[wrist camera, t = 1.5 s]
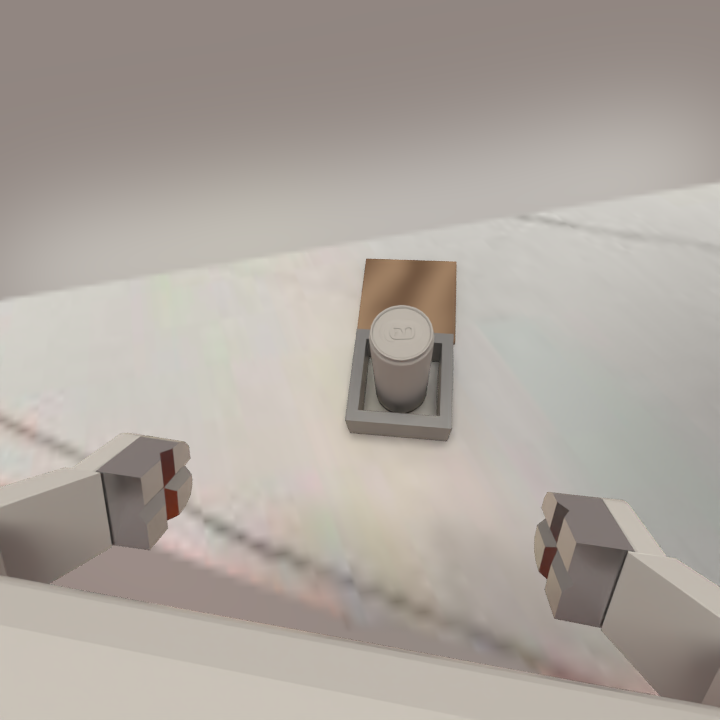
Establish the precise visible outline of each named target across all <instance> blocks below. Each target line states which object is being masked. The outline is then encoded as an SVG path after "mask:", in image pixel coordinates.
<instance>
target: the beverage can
mask: <svg viewBox="0 0 720 720" xmlns="http://www.w3.org/2000/svg"><path fill="white" fill-rule="evenodd" d="M369 343H370V350H371V357H372V364H373V371H374V379H375V386H376V393H377V397H378V399H379V402H380V403H381V404H382V405H383V406H384V407H385V408H386V409H388V410H389V411H392V412H395V413H406V412H410V411H412V410H414V409H416V408H417V407H418V406H420V405H421V403H422V402H423V401H424V399H425V396H426V391H427V385H428V378H429V372H430V366H431V359H432V353H433V346H434V331H433V327H432V323H431V322H430V320H429V318H428V317H427V316H426V315H425V314H424V313H423V312H422V311H420V310H419V309H417V308H414V307H411V306H406V305H398V306H392V307H389V308H387V309H385V310H383V311H382V312H380V313H379V314H378V315H377V316H376V318H375V319H374V321H373V323H372V325H371V329H370V333H369Z"/></svg>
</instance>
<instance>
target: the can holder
mask: <svg viewBox="0 0 720 720" xmlns="http://www.w3.org/2000/svg"><path fill="white" fill-rule="evenodd" d="M369 333H370V329H357V332H356V340H355V347H354V355H353V363H352V370H351V378H350V386H349V394H348V401H347V409H346V417H345V421H346V424H347V426H348V429H349V431H350V433H358V434H370V435H382V436H394V437H405V438H417V439H429V440H440V441H447V440H448V437H449V435H450V432H451V429H452V391H453V339H454V334H444V333H434V346H433V353H432V359H431V361H437V362H439V367H438V395H437V416H430V415H417V414H404V413H392V412H379V411H366V410H363V407H364V398H365V389H366V381H367V372H368V363H369V357H371V350H370V343H369Z"/></svg>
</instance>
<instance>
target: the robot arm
mask: <svg viewBox="0 0 720 720" xmlns="http://www.w3.org/2000/svg"><path fill="white" fill-rule="evenodd" d="M189 460H190V451H189V445H188V444H187V443H186V442H184V441H178V440H172V439H165V438H159V437H153V436H145V435H140V434H132V433H121V434H119V435H118V436H116V437H115V438H114V439H112V440H111V441H109V442H108V443H107V444H105V445H104V446H102V447H101V448H99V449H98V450H97V451H95V452H94V453H92V454H91V455H90V456H88V457H87V458H85V459H84V460H83V461H81V462H80V463H78V464H77V465H75V466H74V467H73V468H66V467H65V468H61V469H58V470H55V471H52V472H48V473H45V474H42V475H38V476H35V477H32V478H28V479H25V480H22V481H19V482H15V483H12V484H9V485H5V486H2V487H0V720H720V587H719V586H718V585H716V584H714V583H713V582H711V581H710V580H708V579H707V578H705V577H704V576H702V575H701V574H699V573H698V572H696V571H694V570H693V569H691V568H690V567H688V566H687V565H685V564H684V563H682V562H681V561H679V560H678V559H676V558H670V557H667V556H666V555H665V553H664V552H663V551H662V549H661V548H660V546H659V545H658V544H657V542H656V541H655V540H654V538H653V537H652V535H651V534H650V533H649V531H648V530H647V528H646V527H645V526H644V524H643V523H642V522H641V520H640V519H639V517H638V516H637V515H636V513H635V512H634V510H633V509H632V508H631V506H630V505H629V504H628V503H627V502H625V501H624V500H619V499H609V498H599V497H597V498H596V497H588V496H579V495H570V494H562V493H553V492H547V494H546V495H545V497H544V500H543V504H542V510H543V513H544V516H545V519H544V520H543V521H542V522H540V523H539V524H538V525H537V528H536V533H535V538H534V554H535V560H536V564H537V567H538V571H539V572H540V573H541V574H542V575H543V576H544V577H545V578H546V579H547V582H546V586H545V592H546V595H547V598H548V601H549V604H550V607H551V610H552V613H553V616H554V619H558V620H564V621H569V622H574V623H579V624H584V625H589V626H594V627H599V628H601V631H602V632H603V633H604V634H605V635H606V636H607V637H608V639H609V640H610V641H611V642H612V643H613V644H614V645H615V646H616V647H617V648H618V650H619V651H620V652H621V653H622V654H623V655H624V656H625V657H626V658H627V659H628V661H629V662H630V663H631V664H632V665H633V666H634V667H635V668H636V669H637V671H638V672H639V673H640V674H641V675H642V676H643V677H644V678H645V679H646V680H647V682H648V683H649V684H650V685H651V686H652V687H653V688H654V689H655V690H656V691H657V693H658V694H659V695H660V696H656V695H651V694H645V693H640V692H635V691H629V690H623V689H618V688H612V687H607V686H601V685H595V684H590V683H584V682H579V681H573V680H568V679H562V678H557V677H551V676H546V675H541V674H535V673H530V672H525V671H519V670H514V669H508V668H502V667H498V666H492V665H487V664H481V663H476V662H471V661H465V660H460V659H454V658H449V657H443V656H438V655H433V654H428V653H422V652H417V651H411V650H405V649H401V648H395V647H390V646H384V645H379V644H373V643H368V642H363V641H357V640H352V639H346V638H341V637H335V636H330V635H324V634H319V633H313V632H308V631H302V630H297V629H291V628H285V627H280V626H275V625H269V624H264V623H259V622H253V621H248V620H242V619H237V618H231V617H226V616H220V615H215V614H209V613H204V612H198V611H193V610H187V609H182V608H177V607H171V606H166V605H160V604H155V603H149V602H144V601H138V600H133V599H127V598H122V597H117V596H111V595H105V594H101V593H94V592H90V591H84V590H79V589H73V588H68V587H63V586H57V585H52V584H50V583H52V582H53V581H55V580H57V579H59V578H60V577H62V576H64V575H65V574H67V573H69V572H70V571H72V570H74V569H76V568H77V567H79V566H81V565H83V564H84V563H86V562H88V561H89V560H91V559H93V558H95V557H96V556H98V555H100V554H101V553H103V552H105V551H107V550H108V549H110V548H112V545H116V546H122V547H130V548H138V549H144V550H151V548H152V547H153V546H154V545H155V544H156V542H157V541H158V540H159V539H160V538H161V536H162V535H163V534H164V533H165V531H166V530H167V529H168V524H167V520H169V519H172V518H174V517H176V516H178V515H179V514H180V513H181V512H182V511H183V509H184V508H185V507H186V505H187V502H188V500H189V498H190V495H191V490H192V474H191V473H190V472H189V470H188V469H187V468H186V466H185V465H186V463H187V462H188V461H189Z"/></svg>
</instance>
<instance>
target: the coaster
mask: <svg viewBox="0 0 720 720" xmlns="http://www.w3.org/2000/svg"><path fill="white" fill-rule="evenodd" d="M398 305H406V306H411V307H414V308H417V309H419V310H420V311H422V312H423V313H424V314H425V315H426V316H427V317H428V318H429V320H430V322H431V323H432V327H433V331H434V333H444V334H454V339H453V345H454V344H455V313H456V262H449V261H419V260H390V259H366V265H365V273H364V280H363V288H362V296H361V304H360V311H359V319H358V327H357V329H371V325H372V323H373V321H374V319H375V318H376V316H377V315H378V314H379V313H380V312H382V311H383V310H385V309H387V308H389V307H392V306H398Z"/></svg>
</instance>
